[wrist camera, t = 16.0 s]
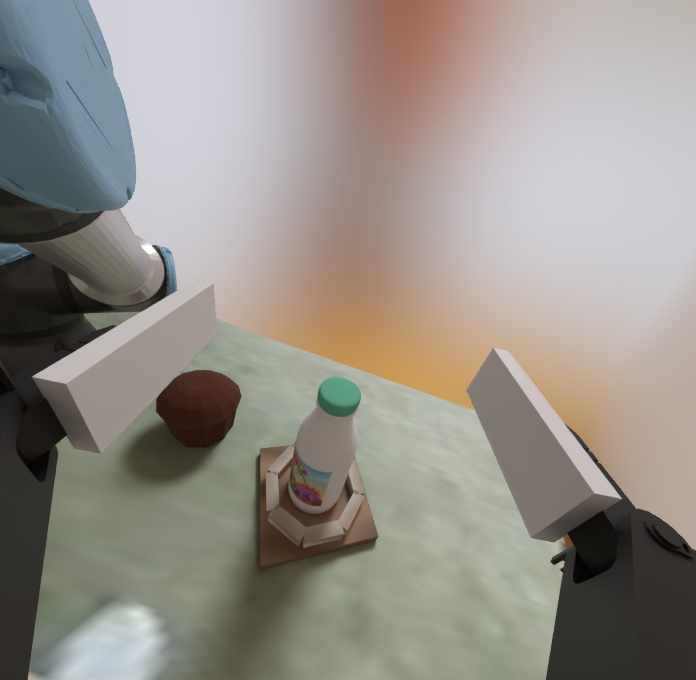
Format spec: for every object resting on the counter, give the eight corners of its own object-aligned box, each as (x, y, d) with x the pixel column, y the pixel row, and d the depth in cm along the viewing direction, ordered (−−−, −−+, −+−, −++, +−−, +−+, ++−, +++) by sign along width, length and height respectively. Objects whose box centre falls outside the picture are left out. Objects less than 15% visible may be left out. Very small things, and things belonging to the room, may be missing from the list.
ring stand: (260, 453, 42) (260, 442, 41) (347, 443, 47) (351, 433, 46) (260, 569, 31) (260, 560, 29) (375, 539, 36) (381, 531, 34)
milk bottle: (326, 455, 43) (352, 361, 32) (349, 501, 38) (390, 407, 27) (280, 473, 39) (293, 373, 28) (299, 527, 34) (324, 429, 23)
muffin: (253, 410, 49) (254, 370, 44) (218, 464, 40) (213, 421, 34) (193, 392, 49) (187, 350, 44) (144, 442, 40) (129, 396, 35)
